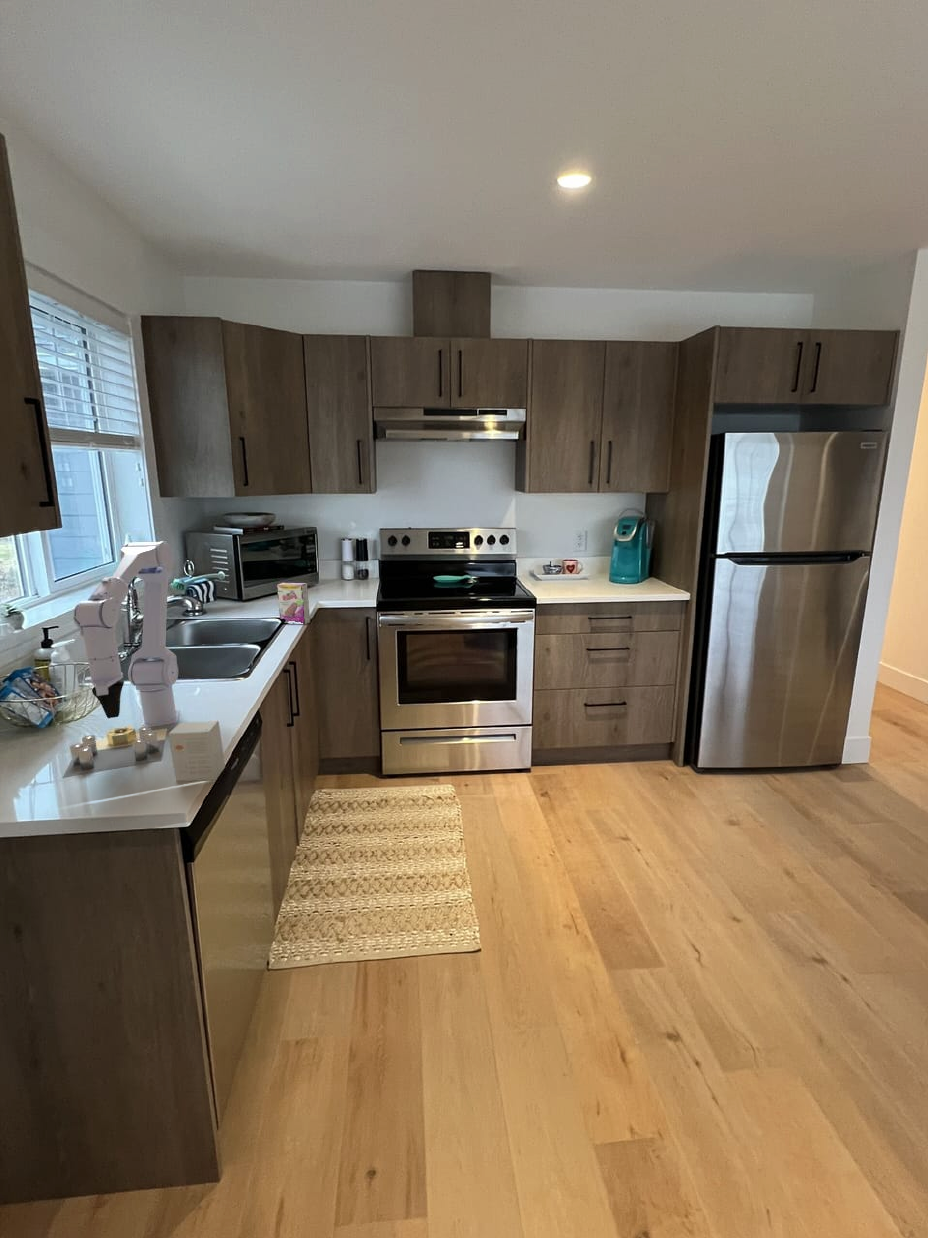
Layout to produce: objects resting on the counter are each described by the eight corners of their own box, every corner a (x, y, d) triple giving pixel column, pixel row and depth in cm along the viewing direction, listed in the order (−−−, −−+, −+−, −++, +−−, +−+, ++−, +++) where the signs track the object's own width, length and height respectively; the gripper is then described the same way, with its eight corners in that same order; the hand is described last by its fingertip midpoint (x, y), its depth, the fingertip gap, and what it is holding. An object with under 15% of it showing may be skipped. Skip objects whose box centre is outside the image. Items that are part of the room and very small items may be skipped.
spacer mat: (81, 743, 144) (81, 741, 143) (167, 729, 150) (167, 728, 150) (62, 779, 126) (62, 777, 126) (161, 762, 132) (161, 760, 132)
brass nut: (109, 739, 144) (108, 728, 144) (137, 735, 146) (136, 724, 146) (106, 747, 140) (104, 737, 139) (135, 743, 142) (133, 732, 141)
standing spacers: (78, 754, 137) (75, 737, 136) (161, 741, 142) (158, 724, 141) (69, 772, 128) (65, 754, 127) (157, 758, 134) (154, 740, 133)
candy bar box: (279, 624, 255) (276, 584, 251) (286, 621, 259) (282, 582, 256) (305, 625, 252) (301, 584, 248) (311, 622, 257) (307, 582, 253)
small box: (226, 768, 129) (219, 720, 126) (216, 781, 123) (209, 731, 121) (186, 770, 129) (179, 721, 126) (175, 783, 123) (167, 733, 121)
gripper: (87, 650, 138) (98, 708, 141) (74, 668, 125) (86, 732, 128) (123, 645, 140) (133, 703, 143) (114, 663, 127) (124, 726, 130)
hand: (113, 716), depth 136 cm, fingers closed
